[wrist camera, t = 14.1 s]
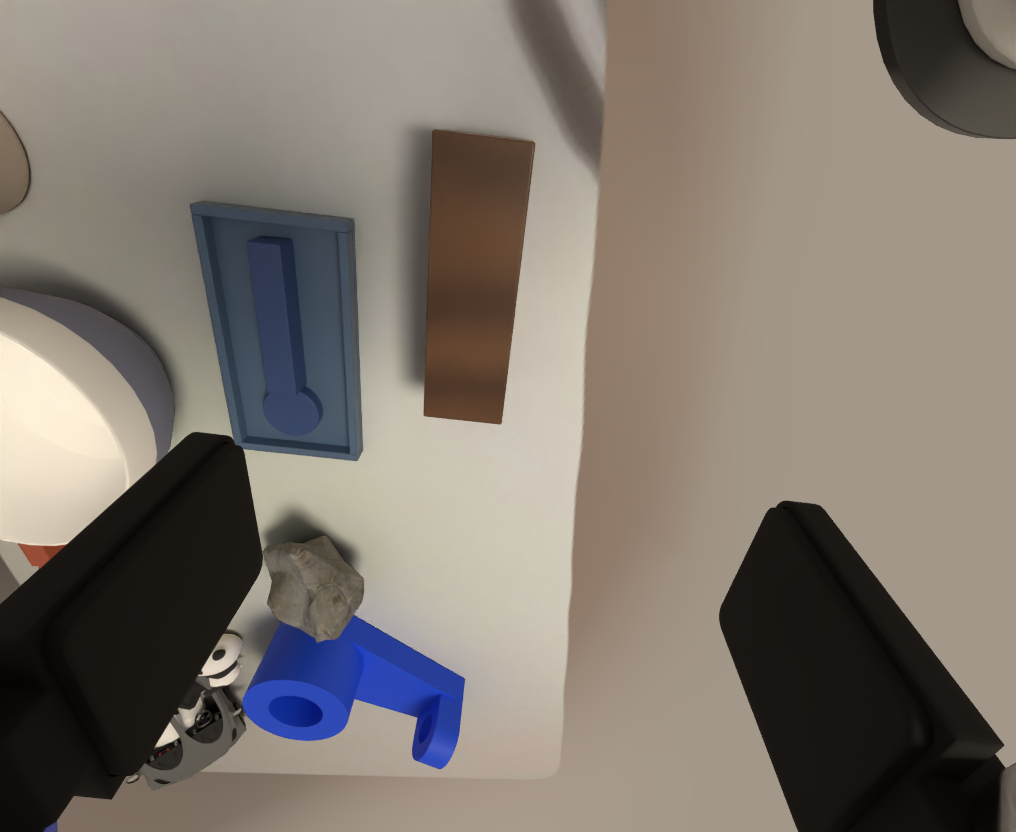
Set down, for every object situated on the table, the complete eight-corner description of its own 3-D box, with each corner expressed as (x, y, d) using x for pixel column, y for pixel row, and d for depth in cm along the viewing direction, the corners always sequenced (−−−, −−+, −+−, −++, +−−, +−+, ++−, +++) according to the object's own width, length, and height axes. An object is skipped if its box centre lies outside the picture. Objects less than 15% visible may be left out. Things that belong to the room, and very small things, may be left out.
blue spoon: (244, 233, 31) (227, 239, 29) (309, 240, 31) (296, 247, 30) (272, 426, 38) (260, 440, 36) (325, 432, 38) (315, 446, 36)
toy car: (260, 685, 63) (284, 741, 57) (143, 756, 56) (156, 828, 50) (216, 582, 54) (239, 636, 48) (70, 651, 47) (76, 723, 41)
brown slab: (446, 129, 29) (432, 129, 24) (533, 140, 29) (535, 142, 24) (435, 382, 36) (423, 416, 32) (504, 390, 37) (501, 425, 32)
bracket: (265, 641, 51) (227, 717, 45) (301, 591, 48) (265, 666, 41) (432, 709, 56) (419, 786, 50) (475, 669, 53) (469, 746, 46)
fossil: (255, 508, 43) (203, 581, 36) (358, 499, 42) (326, 572, 35) (298, 598, 48) (260, 678, 41) (390, 592, 47) (368, 671, 40)
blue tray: (203, 200, 31) (188, 203, 29) (354, 218, 31) (347, 222, 30) (244, 437, 39) (235, 448, 38) (363, 450, 39) (357, 461, 38)
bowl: (246, 456, 40) (174, 541, 32) (57, 466, 41) (-61, 552, 33) (163, 249, 32) (39, 290, 24) (-67, 268, 33) (-264, 314, 25)
